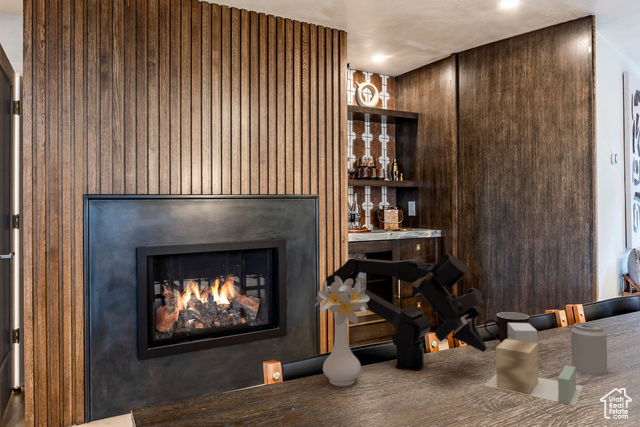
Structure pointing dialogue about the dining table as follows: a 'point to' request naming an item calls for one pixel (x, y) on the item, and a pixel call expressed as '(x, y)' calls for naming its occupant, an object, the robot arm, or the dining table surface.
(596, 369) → the can
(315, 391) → the dining table surface
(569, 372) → the board
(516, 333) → the small box
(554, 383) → the laminate slab
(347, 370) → the flower vase
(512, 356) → the oak block
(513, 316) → the coffee mug
